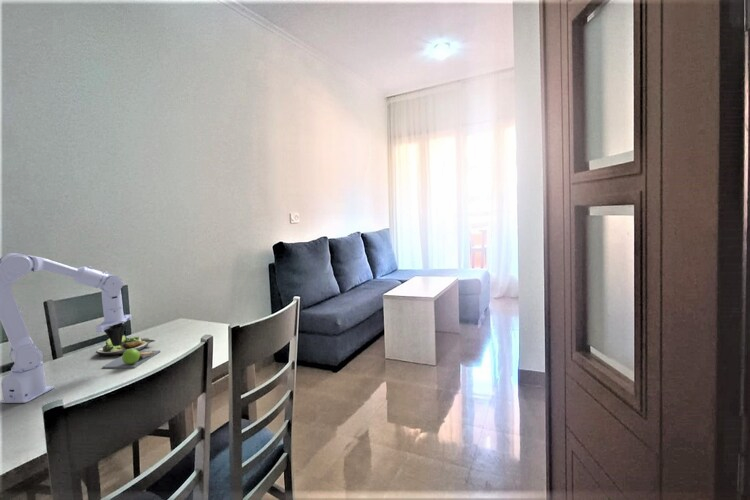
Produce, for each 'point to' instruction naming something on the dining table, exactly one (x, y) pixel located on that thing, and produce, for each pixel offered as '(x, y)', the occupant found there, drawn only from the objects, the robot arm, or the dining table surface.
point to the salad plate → (123, 345)
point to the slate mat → (120, 364)
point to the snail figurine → (133, 355)
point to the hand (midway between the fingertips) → (117, 345)
